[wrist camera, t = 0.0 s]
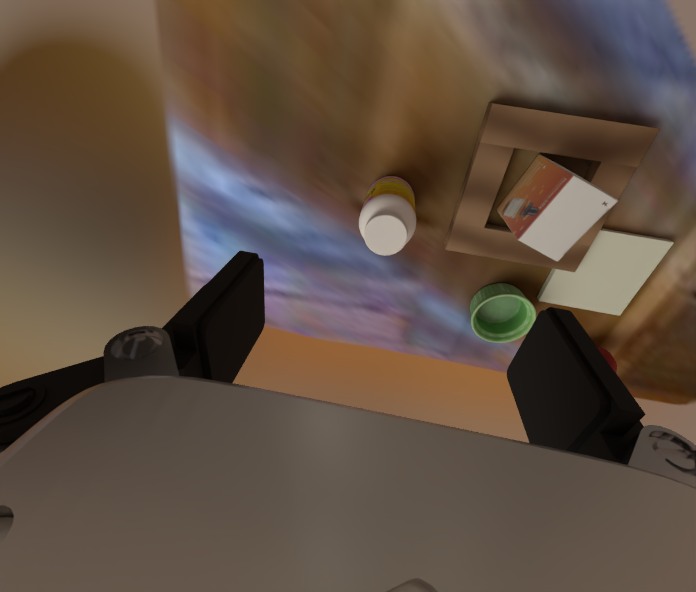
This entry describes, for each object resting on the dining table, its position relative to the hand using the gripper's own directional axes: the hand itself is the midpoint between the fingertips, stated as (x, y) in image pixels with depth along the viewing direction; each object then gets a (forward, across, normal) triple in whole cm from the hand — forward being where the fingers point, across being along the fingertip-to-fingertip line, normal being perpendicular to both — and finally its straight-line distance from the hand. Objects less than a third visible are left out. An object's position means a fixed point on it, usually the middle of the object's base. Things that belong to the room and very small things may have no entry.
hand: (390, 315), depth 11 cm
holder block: (+37, -18, +3) cm, 41 cm away
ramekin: (+37, -20, +21) cm, 47 cm away
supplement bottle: (+37, 0, +7) cm, 38 cm away
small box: (+37, -18, +3) cm, 41 cm away
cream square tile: (+37, -31, +12) cm, 50 cm away
